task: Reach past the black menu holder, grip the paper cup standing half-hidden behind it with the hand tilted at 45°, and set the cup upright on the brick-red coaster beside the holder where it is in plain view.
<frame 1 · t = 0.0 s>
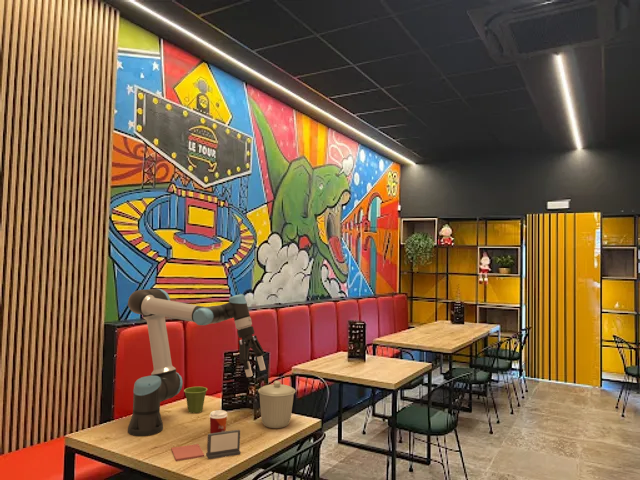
hand: (256, 373, 213), 28 cm above the table, tool tilted 20°, fingers open, 13 cm apart
coaster: (187, 453, 190), on the table
plant pot: (194, 411, 242), on the table
canister: (275, 425, 226), on the table
menu holder: (223, 454, 189), on the table
paper cup: (217, 446, 198), on the table
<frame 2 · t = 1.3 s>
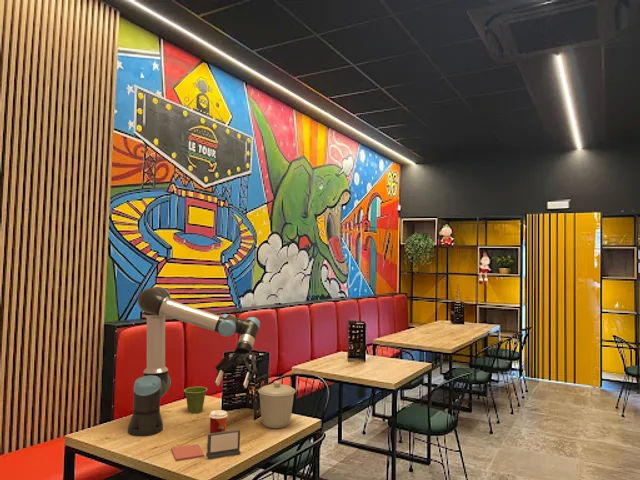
hand: (230, 385, 210), 23 cm above the table, tool tilted 45°, fingers open, 13 cm apart
nothing on the table moved.
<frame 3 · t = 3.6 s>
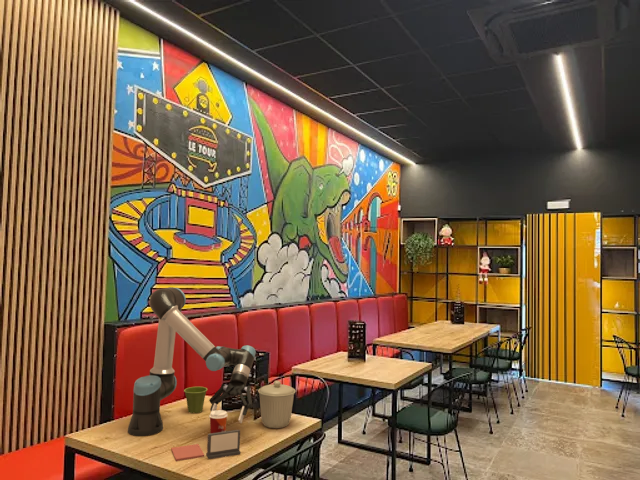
hand: (225, 420, 202), 10 cm above the table, tool tilted 45°, fingers open, 13 cm apart
nothing on the table moved.
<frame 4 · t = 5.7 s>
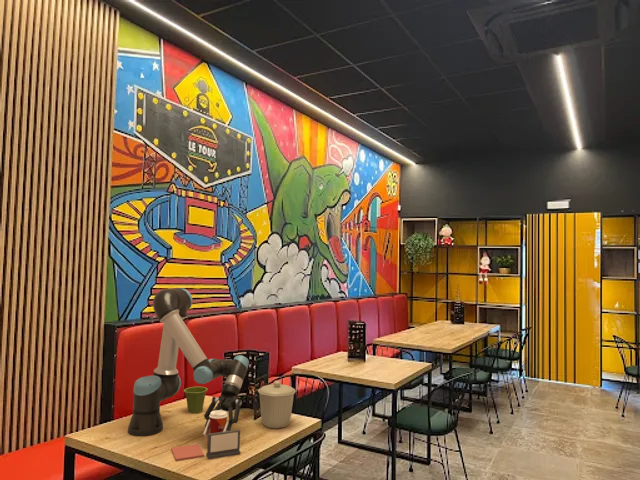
hand: (214, 436, 195), 5 cm above the table, tool tilted 45°, fingers closed on paper cup, 8 cm apart
paper cup: (217, 446, 198), on the table, touching gripper
everything else where it was.
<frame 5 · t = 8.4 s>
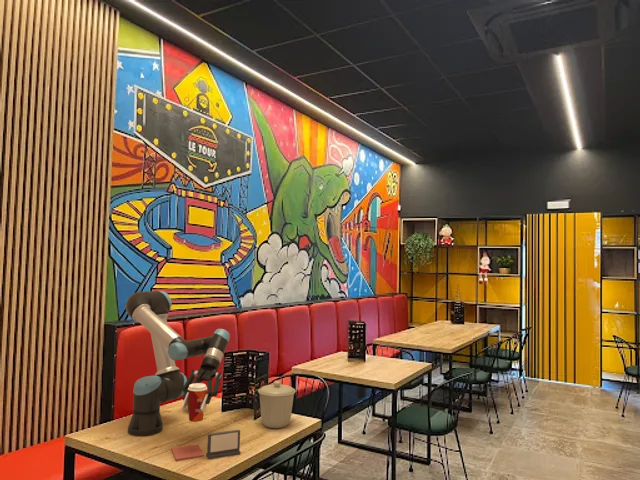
hand: (192, 409, 189), 18 cm above the table, tool tilted 45°, fingers closed on paper cup, 8 cm apart
paper cup: (196, 419, 192), point 13 cm above the table, touching gripper
everything else where it was.
when the fingers open (7 cm above the table, at t = 11.2 s): paper cup drops 1 cm, resting on coaster.
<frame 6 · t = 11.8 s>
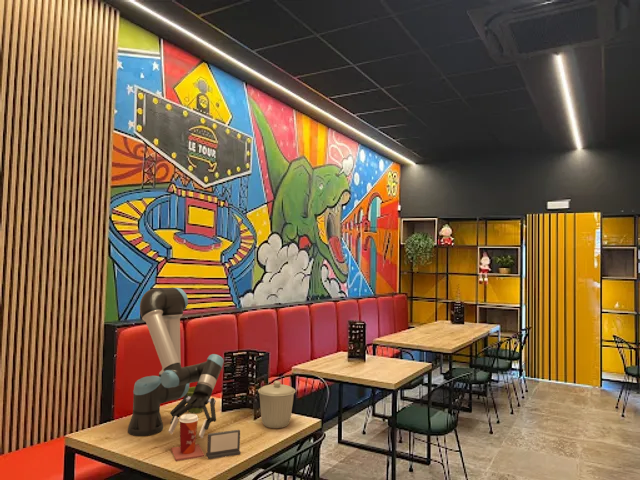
hand: (185, 434, 188), 8 cm above the table, tool tilted 45°, fingers open, 13 cm apart
paper cup: (187, 451, 190), point 1 cm above the table, touching coaster
everything else where it was.
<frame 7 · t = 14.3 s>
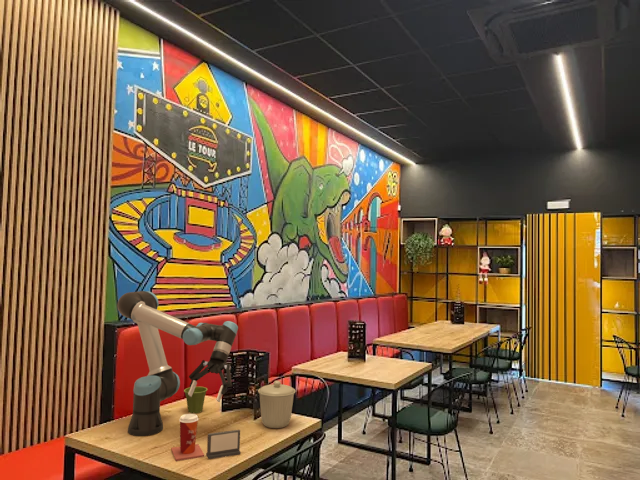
hand: (203, 398, 203), 19 cm above the table, tool tilted 35°, fingers open, 13 cm apart
nothing on the table moved.
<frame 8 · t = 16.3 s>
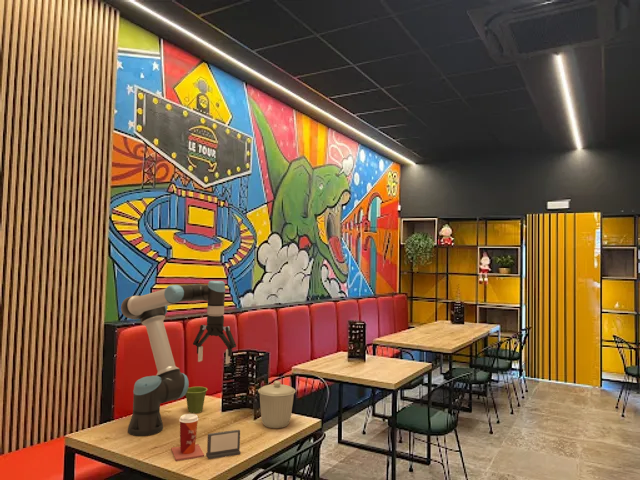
hand: (213, 362, 211), 33 cm above the table, tool pointing down, fingers open, 13 cm apart
nothing on the table moved.
at the end: paper cup inside the target area on the coaster (0.0 cm from its centre), point 0.6 cm above the coaster's base; paper cup tilted 0°; the gripper is holding nothing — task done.
